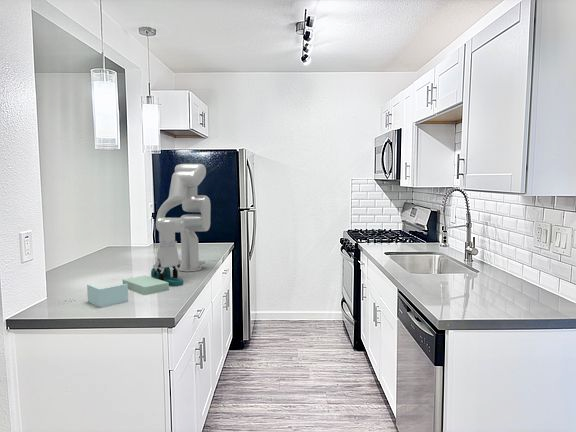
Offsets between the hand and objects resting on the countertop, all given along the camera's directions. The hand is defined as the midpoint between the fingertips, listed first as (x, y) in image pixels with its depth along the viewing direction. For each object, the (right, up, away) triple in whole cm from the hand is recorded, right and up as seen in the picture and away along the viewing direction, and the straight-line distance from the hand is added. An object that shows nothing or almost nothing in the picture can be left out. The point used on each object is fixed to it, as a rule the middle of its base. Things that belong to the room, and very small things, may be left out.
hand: (168, 279), depth 215 cm
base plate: (-8, -3, -9) cm, 13 cm away
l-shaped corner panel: (-17, -5, -31) cm, 36 cm away
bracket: (0, -2, 0) cm, 2 cm away
